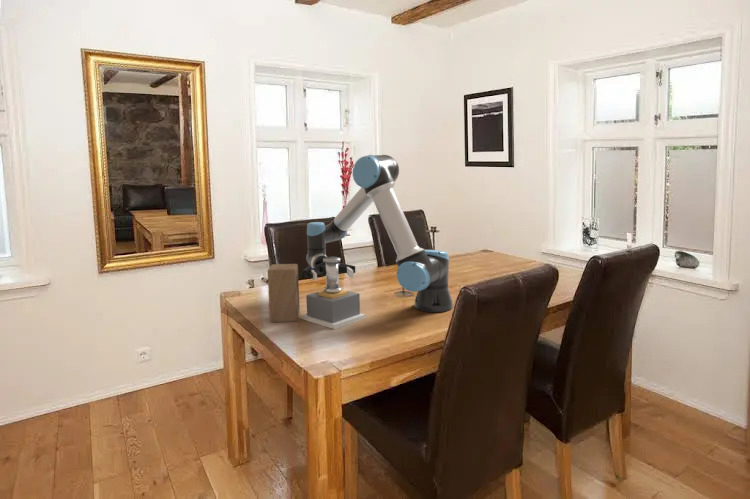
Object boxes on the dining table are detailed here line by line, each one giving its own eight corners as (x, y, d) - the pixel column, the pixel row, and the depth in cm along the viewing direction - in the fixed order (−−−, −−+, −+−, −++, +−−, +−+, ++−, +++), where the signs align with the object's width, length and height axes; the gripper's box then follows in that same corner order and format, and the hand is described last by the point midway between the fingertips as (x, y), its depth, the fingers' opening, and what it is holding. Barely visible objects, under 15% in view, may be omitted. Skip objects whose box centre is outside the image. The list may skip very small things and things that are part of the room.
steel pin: (345, 311, 199) (344, 258, 195) (333, 315, 194) (331, 260, 190) (333, 308, 203) (332, 256, 199) (321, 312, 198) (319, 258, 195)
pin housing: (365, 318, 199) (365, 291, 197) (334, 329, 187) (333, 300, 185) (332, 309, 211) (331, 283, 209) (301, 319, 199) (300, 292, 197)
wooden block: (300, 313, 206) (297, 263, 202) (297, 321, 196) (294, 269, 193) (274, 314, 206) (271, 264, 202) (270, 322, 196) (267, 269, 192)
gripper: (352, 270, 217) (367, 282, 197) (291, 276, 210) (300, 289, 190) (351, 252, 216) (366, 263, 196) (290, 257, 208) (299, 268, 189)
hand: (334, 275), depth 193 cm, fingers open, 13 cm apart
